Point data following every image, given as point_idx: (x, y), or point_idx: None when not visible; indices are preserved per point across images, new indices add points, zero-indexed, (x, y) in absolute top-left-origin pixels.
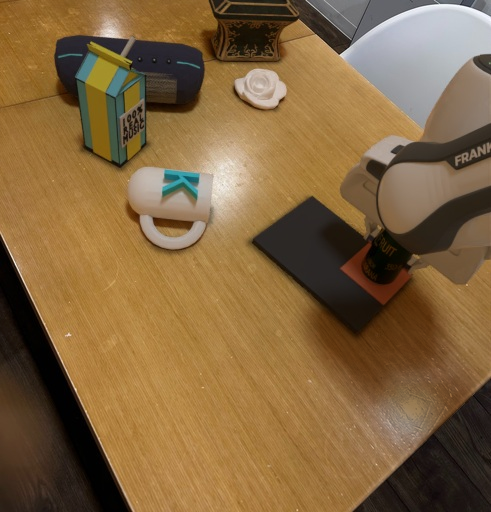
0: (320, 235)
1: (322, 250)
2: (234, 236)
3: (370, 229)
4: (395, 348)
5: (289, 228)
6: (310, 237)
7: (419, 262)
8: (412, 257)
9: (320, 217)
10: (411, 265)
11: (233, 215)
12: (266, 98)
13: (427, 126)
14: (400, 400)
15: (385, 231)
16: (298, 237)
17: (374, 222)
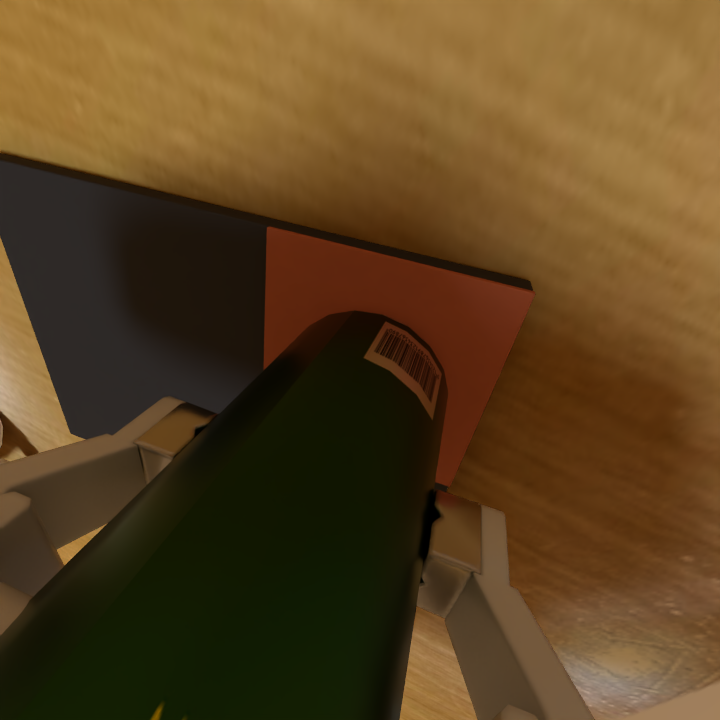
0: (137, 329)
1: (185, 381)
2: (58, 424)
3: (115, 513)
4: (540, 555)
5: (76, 358)
6: (129, 355)
7: (478, 685)
8: (430, 569)
9: (74, 248)
10: (446, 612)
11: (3, 374)
12: None
13: None
14: (586, 650)
15: None
16: (113, 375)
17: (49, 568)
